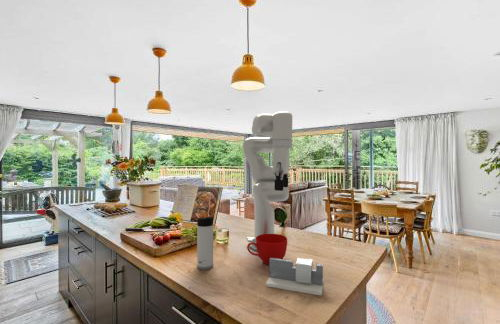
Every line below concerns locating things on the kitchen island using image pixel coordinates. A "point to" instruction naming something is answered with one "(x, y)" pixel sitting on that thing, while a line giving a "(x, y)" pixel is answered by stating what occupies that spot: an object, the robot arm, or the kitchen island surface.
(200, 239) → the travel mug
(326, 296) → the kitchen island surface
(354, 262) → the kitchen island surface
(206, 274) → the kitchen island surface
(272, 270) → the rail
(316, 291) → the base board
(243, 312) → the kitchen island surface
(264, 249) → the ceramic cup
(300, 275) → the clip
